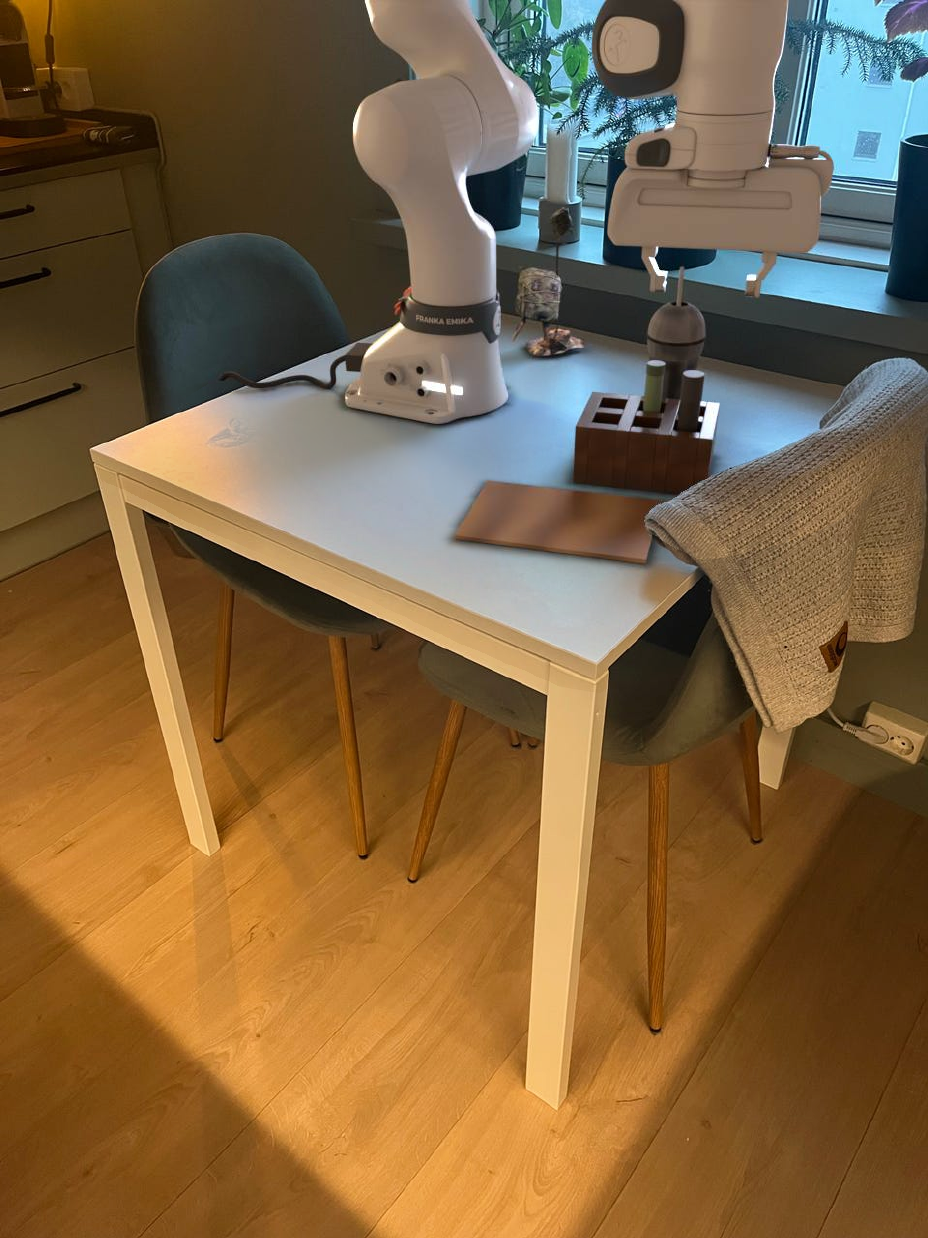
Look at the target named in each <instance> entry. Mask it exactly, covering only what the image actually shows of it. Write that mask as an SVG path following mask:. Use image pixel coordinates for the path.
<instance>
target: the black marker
mask: <svg viewBox="0 0 928 1238" xmlns="http://www.w3.org/2000/svg"><path fill="white" fill-rule="evenodd" d="M704 384H705V373H704V372H703V371H700V370H689V371H685V372H684V373H683V376H682V385H681V394H680V407H679V416H678V425H677V431H685V432H695V433H697V427H698V420H699V412H700V404H701V401H702V398H703V391H704Z"/></svg>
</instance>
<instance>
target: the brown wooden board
mask: <svg viewBox="0 0 928 1238" xmlns="http://www.w3.org/2000/svg"><path fill="white" fill-rule="evenodd" d="M662 502H663V501H662V500H661V499H653V498H645V497H635V496H626V495H619V494H609V493H600V492H591V491H582V490H576V489H575V490H574V489H565V488H556V487H548V486H539V485H529V484H520V483H512V482H503V481H497V480H496V481H494V480H487V481H486V482H485V484H484V485H483V488H482V489H481V490H480V493H479V494H478V496H477V497H476V498H475V501H474V502H473V504H472V506H471V507H470V509H469V511H468V513H467V514H466V516H465V517H464V519H463V521H462V523H461V524H460V526H459V528H458V529H457V531H456V533H455V534H454V539H455V540H460V541H465V542H467V541H468V542H469V541H470V542H474V543H475V542H476V543H483V544H491V545H499V546H504V547H505V546H506V547H512V548H513V547H514V548H522V549H527V550H528V549H529V550H535V551H536V550H538V551H543V552H551V553H559V554H568V555H575V556H583V557H590V558H596V559H598V558H599V559H605V560H613V561H620V562H629V563H635V564H644V565H646V563H647V560H648V556H649V552H650V548H651V546H652V541H653V538H651V537H650V536H649V533H648V531H647V530H646V527H645V522H644V520H645V516H646V515H647V514H648V513H649V511H650V510H651V509H652V508H654V507H655V506H656V505H658V504H660V503H661V504H662Z"/></svg>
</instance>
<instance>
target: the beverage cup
mask: <svg viewBox="0 0 928 1238" xmlns="http://www.w3.org/2000/svg"><path fill="white" fill-rule="evenodd" d="M684 276H685V266H679V273H678V284H677V293H676V294H677V295H676V300H674V301H670V302H667V303H665V304H663V305H662V306H661V307H660V308H658V309H657V310H656V311H655V312H654V314H653V315H652V316H651V318H650V321H649V324H648V327H647V331H646V334H645V338H646V345H647V353H648V361H651V360H660V361H663V362H665V364H666V365H665V374H664V380H663V390H662V398H668V399H680V394H681V385H682V376H683V373H684V372H685V371H689V370H696V371H698V370H697V369H698V366H699V365H698V364H699V360H700V356H701V355H702V352H703V349H704V345H705V341H706V340H707V335H706V334H707V332H706V323H705V318H704V316H703V314H702V313H701V311H700V310H699V309H698V308H697V307H696V306H695V305H693V304H692V303H690V302H688V301H684V300H683V299H682V297H683V288H684V287H683V285H684Z"/></svg>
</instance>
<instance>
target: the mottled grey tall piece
mask: <svg viewBox="0 0 928 1238" xmlns="http://www.w3.org/2000/svg"><path fill="white" fill-rule="evenodd" d="M549 224H550V229H551V231H552V233H553V234H552V235H554V236H555V237H556V238H555V263H554V264H555V271H554V270H550V269H541V268H537V267H529V268H525V269H523V270H521V271H520V273H519V276H518V283H517V285H518V286H517V288H518V293H517V295H516V299H515V310H516V313H517V315H519V316H521V320H520V322H519V324H518V325H517V326H516V328H515V332H514V334H513V335H512V339H511V341H512V342H514V341H515V340H516V338H517V337H518V335H519V334H520V332H521V331H522V329H523V327H524V325H525V324H526V322H527V321H526V320H527V319H529V320H533V321H537V322H538V321H540V323H541V325H542V331H543V336H542V337H538V338H536V339H531V340H528V341H527V342H524V343H525V344H524V346H525V347H526V349H527V350H528V353H530V354H532V355H533V356H538V357H541V356H543V357H546V356H554V355H557V354H563V353H565V352H567V351H568V350H574V349H576V348H577V349H583V348H584V347H585V345H584V344H585V343H584V340H585V339H584V338H583V339H580V338H577V336H575V335H572V334H571V331H570V330H569V329H566V330H565V329H563V328H562V329H561V328H559V318H558V317H559V313H560V312H559V310H560V303H561V296H562V294H561V293H562V290H563V286H562V281H561V278H560V275H559V250H560V238H561V237H563V236H564V235H565V234H568V232H569V233H570V234H571V235H572V236H574V235H575V231H574V228H572V227H573V226H574V221H573V219H572V217H571V215H570V211H569V210H568V208H566V207H561V208H560V209H559V210H557V211H555V212H554V213H553V214H552V215H550V218H549ZM519 268H522V266H519ZM554 322H556V328H555V329H551V330H550V325H551V324H552V323H554Z"/></svg>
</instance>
